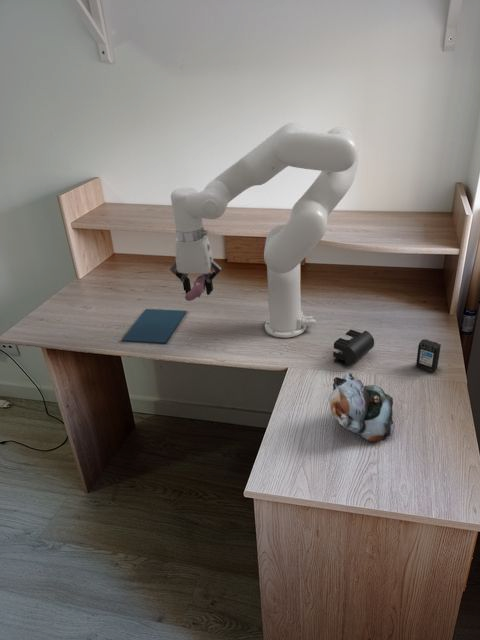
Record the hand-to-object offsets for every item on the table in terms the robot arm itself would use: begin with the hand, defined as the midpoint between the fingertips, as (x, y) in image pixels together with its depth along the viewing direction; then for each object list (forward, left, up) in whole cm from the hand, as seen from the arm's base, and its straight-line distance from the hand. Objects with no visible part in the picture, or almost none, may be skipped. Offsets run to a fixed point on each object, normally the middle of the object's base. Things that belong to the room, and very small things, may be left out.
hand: (198, 292), depth 154 cm
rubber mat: (+16, 0, -12) cm, 20 cm away
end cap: (-46, +12, -13) cm, 49 cm away
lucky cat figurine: (-49, +40, -13) cm, 65 cm away
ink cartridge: (-65, +15, -13) cm, 68 cm away
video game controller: (0, 0, -1) cm, 1 cm away
